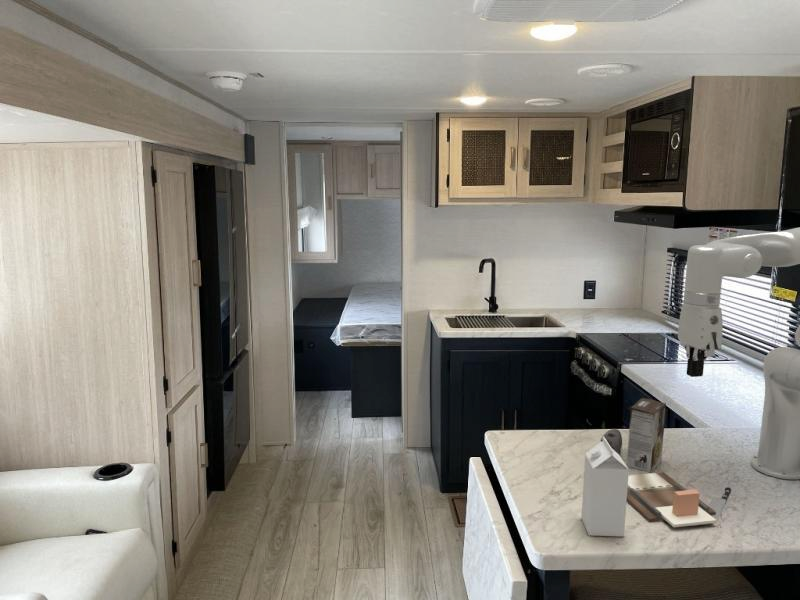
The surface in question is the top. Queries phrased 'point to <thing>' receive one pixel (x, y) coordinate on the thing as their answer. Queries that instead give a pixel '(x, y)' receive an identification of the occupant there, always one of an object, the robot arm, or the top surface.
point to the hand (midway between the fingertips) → (694, 375)
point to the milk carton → (604, 491)
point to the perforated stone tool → (614, 439)
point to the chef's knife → (719, 503)
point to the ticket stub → (685, 510)
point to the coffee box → (646, 434)
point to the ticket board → (655, 494)
